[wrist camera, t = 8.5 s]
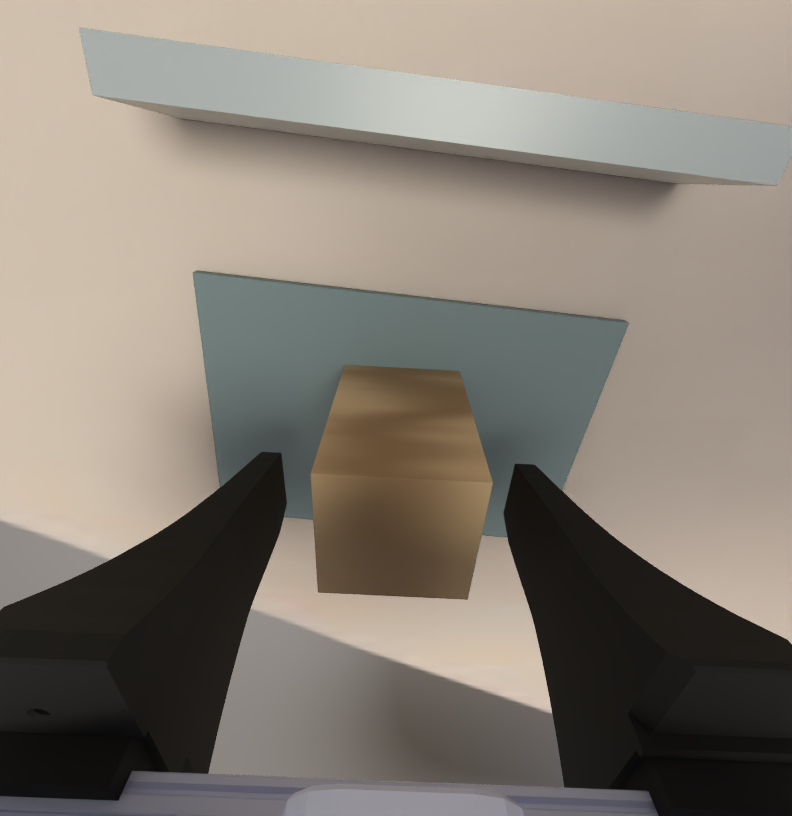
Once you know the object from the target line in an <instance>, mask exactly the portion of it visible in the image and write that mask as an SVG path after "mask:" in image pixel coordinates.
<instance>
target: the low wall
mask: <svg viewBox="0 0 792 816" xmlns="http://www.w3.org/2000/svg"><path fill="white" fill-rule="evenodd" d="M79 32H80V37H81V41H82V46H83V51H84V56H85V61H86V66H87V71H88V76H89V81H90V86H91V91H92V95H94V96H98V97H102V98H105V99H109V100H113V101H117V102H120V103H124V104H128V105H131V106H135V107H139V108H143V109H146V110H150V111H154V112H157V113H161V114H165V115H169V116H172V117H176V118H181V119H189V120H196V121H204V122H212V123H219V124H227V125H234V126H242V127H250V128H257V129H265V130H273V131H280V132H288V133H295V134H303V135H311V136H318V137H326V138H334V139H341V140H349V141H356V142H364V143H372V144H379V145H387V146H395V147H402V148H410V149H417V150H425V151H433V152H440V153H448V154H455V155H463V156H471V157H478V158H486V159H494V160H501V161H509V162H516V163H524V164H532V165H539V166H547V167H555V168H562V169H570V170H577V171H585V172H593V173H600V174H608V175H616V176H623V177H631V178H638V179H646V180H654V181H661V182H669V183H676V184H718V185H772V186H777V185H778V183H779V181H780V179H781V177H782V175H783V173H784V171H785V169H786V166H787V164H788V162H789V160H790V158H791V156H792V126H785V125H778V124H771V123H764V122H756V121H749V120H742V119H735V118H728V117H720V116H713V115H706V114H699V113H692V112H684V111H677V110H670V109H663V108H656V107H648V106H641V105H634V104H627V103H620V102H612V101H605V100H598V99H591V98H584V97H576V96H569V95H562V94H555V93H548V92H540V91H533V90H526V89H519V88H512V87H504V86H497V85H490V84H483V83H476V82H468V81H461V80H454V79H447V78H440V77H432V76H425V75H418V74H411V73H404V72H396V71H389V70H382V69H375V68H368V67H360V66H353V65H346V64H339V63H332V62H324V61H317V60H310V59H303V58H296V57H288V56H281V55H274V54H267V53H260V52H252V51H245V50H238V49H231V48H224V47H216V46H209V45H202V44H195V43H188V42H180V41H173V40H166V39H159V38H152V37H144V36H137V35H130V34H123V33H116V32H108V31H101V30H94V29H87V28H80V27H79Z"/></svg>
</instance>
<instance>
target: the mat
mask: <svg viewBox="0 0 792 816" xmlns="http://www.w3.org/2000/svg"><path fill="white" fill-rule="evenodd" d="M193 279H194V286H195V294H196V302H197V310H198V318H199V326H200V333H201V341H202V349H203V357H204V365H205V372H206V380H207V388H208V396H209V404H210V411H211V419H212V427H213V435H214V443H215V451H216V458H217V466H218V474H219V482H220V487H221V486H223V485H224V484H225V483H226V482H227V481H229V480H230V479H231V478H232V477H233V476H234V475H235V474H237V473H238V472H239V471H240V470H241V469H242V468H243V467H245V466H246V465H247V464H248V463H249V462H250V461H251V460H253V459H254V458H255V457H256V456H257V455H258V454H260V453H261V452H278V453H281V454H282V463H283V472H284V481H285V490H286V499H287V505H286V510H285V514H284V517H291V518H302V519H312V520H314V519H313V503H312V487H311V471H312V468H313V464H314V461H315V458H316V455H317V452H318V448H319V445H320V442H321V439H322V436H323V432H324V429H325V426H326V423H327V420H328V416H329V413H330V410H331V407H332V404H333V401H334V397H335V394H336V391H337V388H338V385H339V381H340V378H341V375H342V372H343V369H344V365H361V366H379V367H397V368H416V369H434V370H452V371H460V373H461V377H462V380H463V384H464V387H465V390H466V394H467V397H468V401H469V404H470V407H471V411H472V414H473V417H474V421H475V424H476V428H477V431H478V434H479V438H480V441H481V444H482V448H483V451H484V455H485V458H486V461H487V465H488V468H489V472H490V475H491V478H492V482H493V484H492V489H491V494H490V498H489V503H488V507H487V512H486V517H485V521H484V526H483V531H482V535H486V536H496V537H507V532H506V526H505V520H504V514H503V512H504V508H505V504H506V500H507V495H508V491H509V487H510V483H511V478H512V474H513V470H514V466H515V464H534V465H536V466H537V467H538V468H539V469H540V470H541V471H542V472H543V473H544V474H545V475H546V476H547V477H548V478H549V479H550V480H551V481H552V482H553V483H554V484H555V485H556V486H557V487H558V488H559V489H561V490H562V489H563V486H564V484H565V481H566V479H567V476H568V474H569V471H570V469H571V466H572V464H573V461H574V459H575V456H576V454H577V451H578V449H579V446H580V444H581V441H582V439H583V437H584V434H585V432H586V429H587V427H588V424H589V422H590V419H591V417H592V414H593V412H594V409H595V407H596V404H597V402H598V399H599V397H600V394H601V392H602V389H603V387H604V384H605V382H606V379H607V377H608V374H609V372H610V369H611V367H612V364H613V362H614V359H615V357H616V354H617V352H618V349H619V347H620V344H621V342H622V339H623V337H624V335H625V332H626V330H627V327H628V325H629V323H628V322H626V321H625V320H617V319H608V318H600V317H591V316H583V315H574V314H565V313H557V312H548V311H540V310H531V309H522V308H514V307H505V306H496V305H488V304H479V303H471V302H462V301H453V300H445V299H436V298H428V297H419V296H410V295H402V294H393V293H385V292H376V291H367V290H359V289H350V288H342V287H333V286H324V285H316V284H307V283H299V282H290V281H281V280H273V279H264V278H255V277H247V276H238V275H230V274H221V273H212V272H204V271H195V272H193ZM507 538H508V537H507Z"/></svg>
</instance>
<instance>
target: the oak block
mask: <svg viewBox="0 0 792 816" xmlns="http://www.w3.org/2000/svg"><path fill="white" fill-rule="evenodd" d="M492 484H493V482H492V478H491V475H490V472H489V468H488V465H487V461H486V458H485V455H484V451H483V448H482V444H481V441H480V438H479V434H478V431H477V428H476V424H475V421H474V417H473V414H472V411H471V407H470V404H469V401H468V397H467V394H466V390H465V387H464V384H463V380H462V377H461V373H460V371H452V370H434V369H416V368H397V367H379V366H361V365H344V369H343V372H342V375H341V378H340V381H339V385H338V388H337V391H336V394H335V397H334V401H333V404H332V407H331V410H330V413H329V416H328V420H327V423H326V426H325V429H324V432H323V436H322V439H321V442H320V445H319V448H318V452H317V455H316V458H315V461H314V464H313V468H312V471H311V487H312V503H313V519H314V535H315V552H316V568H317V584H318V592H320V593H341V594H362V595H383V596H404V597H425V598H446V599H468V595H469V591H470V586H471V581H472V577H473V572H474V568H475V563H476V558H477V554H478V549H479V544H480V540H481V535H482V531H483V526H484V521H485V517H486V512H487V507H488V503H489V498H490V494H491V489H492Z"/></svg>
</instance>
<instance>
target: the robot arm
mask: <svg viewBox="0 0 792 816" xmlns="http://www.w3.org/2000/svg"><path fill="white" fill-rule="evenodd" d="M286 505H287V499H286V490H285V481H284V472H283V463H282V454H281V453H278V452H261V453H260V454H258V455H257V456H256V457H255V458H254V459H253V460H251V461H250V462H249V463H248V464H247V465H246V466H245V467H243V468H242V469H241V470H240V471H239V472H238V473H237V474H235V475H234V476H233V477H232V478H231V479H230V480H229V481H227V482H226V483H225V484H224V485H223V486H221V487H220V488H219V489H218V490H217V491H216V492H214V493H213V494H212V495H211V496H209V497H208V498H207V499H205V500H204V501H203V502H201V503H200V504H199V505H198V506H196V507H195V508H194V509H192V510H191V511H190V512H188V513H187V514H186V515H184V516H183V517H181V518H180V519H178V520H177V521H176V522H174V523H173V524H171V525H169V526H168V527H166V528H165V529H163V530H162V531H160V532H159V533H157V534H155V535H154V536H152V537H151V538H149V539H147V540H145V541H144V542H142V543H140V544H138V545H136V546H135V547H133V548H131V549H129V550H128V551H126V552H124V553H122V554H121V555H119V556H117V557H115V558H113V559H111V560H109V561H107V562H105V563H103V564H101V565H99V566H97V567H95V568H94V569H92V570H89V571H87V572H85V573H83V574H81V575H79V576H76V577H74V578H72V579H70V580H68V581H66V582H63V583H61V584H59V585H57V586H54V587H52V588H49V589H47V590H44V591H42V592H40V593H37V594H35V595H32V596H30V597H27V598H25V599H23V600H20V601H18V602H15V603H13V604H10V605H8V606H5V607H3V608H2V609H1V610H0V816H792V644H791V643H790V642H789V641H788V640H787V639H785V638H783V637H781V636H779V635H777V634H775V633H772V632H770V631H768V630H766V629H764V628H762V627H760V626H758V625H756V624H754V623H752V622H750V621H748V620H746V619H744V618H742V617H740V616H738V615H736V614H734V613H732V612H730V611H728V610H726V609H725V608H723V607H721V606H719V605H717V604H715V603H714V602H712V601H710V600H708V599H706V598H705V597H703V596H701V595H699V594H698V593H696V592H694V591H692V590H691V589H689V588H687V587H686V586H684V585H682V584H681V583H679V582H678V581H676V580H674V579H673V578H671V577H670V576H668V575H667V574H665V573H663V572H662V571H660V570H659V569H657V568H656V567H654V566H653V565H651V564H650V563H648V562H647V561H645V560H644V559H642V558H641V557H640V556H638V555H637V554H636V553H634V552H633V551H632V550H630V549H629V548H627V547H626V546H625V545H623V544H622V543H621V542H619V541H618V540H617V539H616V538H614V537H613V536H612V535H611V534H609V533H608V532H607V531H606V530H605V529H603V528H602V527H601V526H600V525H599V524H597V523H596V522H595V521H594V520H593V519H592V518H591V517H589V516H588V515H587V514H586V513H585V512H584V511H583V510H582V509H580V508H579V507H578V506H577V505H576V504H575V503H574V502H573V501H572V500H571V499H570V498H569V497H568V496H567V495H566V494H565V493H564V492H563V491H562V490H561V489H559V488H558V487H557V486H556V485H555V484H554V483H553V482H552V481H551V480H550V479H549V478H548V477H547V476H546V475H545V474H544V473H543V472H542V471H541V470H540V469H539V468H538V467H537V466H536V465H534V464H515V466H514V470H513V474H512V478H511V483H510V487H509V491H508V495H507V500H506V504H505V508H504V512H503V514H504V520H505V526H506V532H507V537H508V542H509V546H510V549H511V552H512V555H513V558H514V562H515V565H516V568H517V571H518V574H519V577H520V580H521V583H522V586H523V589H524V592H525V595H526V598H527V602H528V605H529V608H530V611H531V614H532V618H533V621H534V625H535V629H536V634H537V638H538V643H539V647H540V652H541V656H542V661H543V666H544V671H545V676H546V681H547V686H548V691H549V697H550V702H551V708H552V713H553V718H554V725H555V730H556V736H557V741H558V748H559V755H560V761H561V768H562V775H563V780H564V788H560V787H535V786H508V785H483V784H481V785H480V784H457V783H456V784H455V783H432V782H405V781H404V782H403V781H380V780H355V779H327V778H303V777H277V776H250V775H225V774H223V775H222V774H208V772H209V767H210V763H211V758H212V753H213V749H214V745H215V740H216V736H217V732H218V727H219V723H220V719H221V715H222V711H223V707H224V703H225V699H226V695H227V691H228V687H229V683H230V679H231V675H232V672H233V668H234V664H235V660H236V656H237V653H238V649H239V645H240V642H241V638H242V635H243V631H244V628H245V624H246V621H247V617H248V614H249V611H250V608H251V605H252V603H253V600H254V597H255V595H256V592H257V589H258V587H259V584H260V582H261V579H262V577H263V574H264V572H265V569H266V567H267V564H268V562H269V559H270V557H271V554H272V551H273V549H274V546H275V544H276V541H277V539H278V536H279V533H280V530H281V526H282V522H283V518H284V514H285V510H286Z"/></svg>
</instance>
